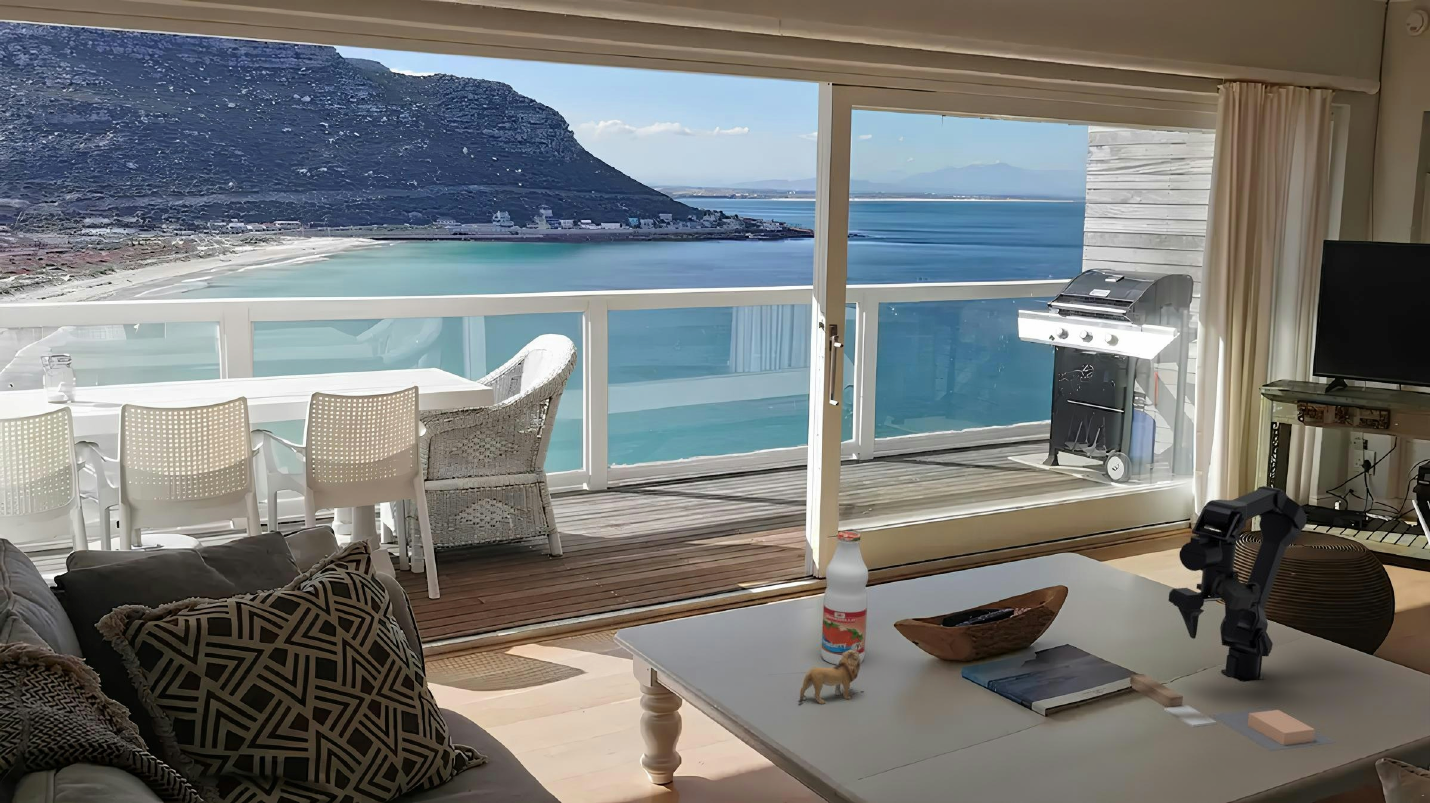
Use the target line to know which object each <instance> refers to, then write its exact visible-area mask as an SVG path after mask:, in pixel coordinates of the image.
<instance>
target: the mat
mask: <svg viewBox="0 0 1430 803" xmlns="http://www.w3.org/2000/svg"><path fill="white" fill-rule="evenodd" d="M1273 710H1275V709H1274V708H1273V707H1266V708H1260V709H1259V708H1258V709H1250V710H1241V711H1233V712H1224V713H1223V712H1222V713H1216V714H1209V717H1212V718H1213V719H1215V720H1217V721H1219V722H1220V723H1222V724H1223V725H1225V726H1227V727H1229V728H1230V729H1232V730H1234V731H1236V732H1237V733H1239V734H1240V735H1242V736H1244V737H1246V738H1247V739H1249V740H1251V741H1253V743H1254V742H1255V743H1256V744H1258V745H1260V746H1261V747H1263V748H1264V749H1267V750H1268V751H1270V752H1273V751H1281V750H1289V749H1297V748H1305V747H1310V746H1312V747H1313V746H1318V745H1327V744H1334V743H1336V741H1334V740H1332V739H1330V738H1328V737H1326V736H1324V735H1323V734H1322V733H1319V732H1317V731H1315V732H1314V741H1313V742H1306V743H1298V744H1290V745H1282V744H1280V743H1278V742H1276V741H1275V740H1273V739H1271V738H1269V737H1268V736H1266V735H1264V734H1262V733H1261V732H1259V731H1257V730H1255V729H1254V728H1252V727H1250V726H1248V717H1249V713H1256V712H1264V711H1273Z"/></svg>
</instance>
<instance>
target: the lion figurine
mask: <svg viewBox="0 0 1430 803" xmlns="http://www.w3.org/2000/svg"><path fill="white" fill-rule="evenodd" d="M842 656H843V657H842V659H841V660H840V661H839V664H838V665H834V666H832V667H820V666H817V667H812V668H811V669H809V670H808V672H807V673H806V675H805V677H804V679H803V683H802V687H801V689H800V694H799V700H798V703H803V701H804V700H806V699H807V696H806V695H805V693H806V691H807V690H808V689H810V688H811V687H812V686H813V689H814V694H813V697H814V698H815V699H816V701H817V703H819V704H821V705H823V704H825V702H826V701H825V700H824V699H822V698H821V697H820V694H821V691H822V690H823V686H824V685H825V686H828V687H835V689H834V693H835V695H837V696H841V695H843V697H844V699H846V700H851V696H850V695H849V691H850V688H851V683H852V682H854V681H855V680H856V679H857V678H858V676H859V671H860V669H861V664H862V662H861V658H860V656H859V653H858V652H857V651H854V650H848V651H847V652H844V653H843V654H842ZM841 685H842V687H843V694H842V692H841Z"/></svg>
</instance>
